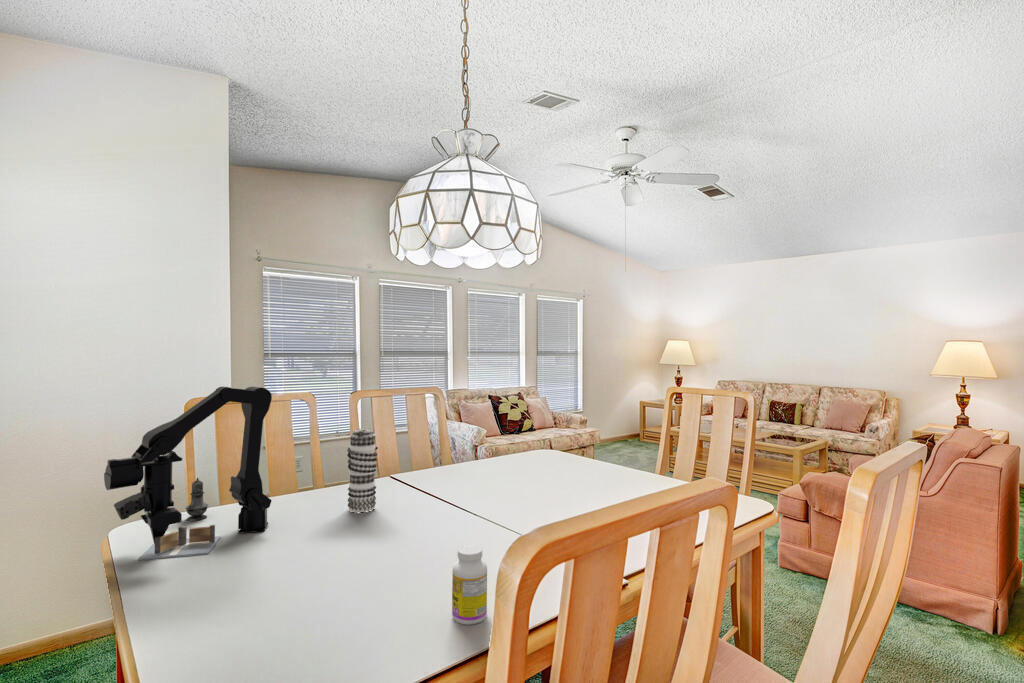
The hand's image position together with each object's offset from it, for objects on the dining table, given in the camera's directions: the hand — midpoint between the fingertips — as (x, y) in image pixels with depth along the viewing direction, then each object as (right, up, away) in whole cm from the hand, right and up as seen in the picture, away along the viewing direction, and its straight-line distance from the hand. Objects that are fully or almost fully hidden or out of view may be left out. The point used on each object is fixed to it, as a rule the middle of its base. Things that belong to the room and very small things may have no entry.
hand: (157, 544), depth 127 cm
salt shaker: (-6, -3, +26) cm, 27 cm away
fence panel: (+2, -1, 0) cm, 3 cm away
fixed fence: (+6, -2, +5) cm, 9 cm away
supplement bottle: (+79, -3, -29) cm, 85 cm away
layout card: (+4, -2, +3) cm, 6 cm away
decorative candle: (+40, -3, +36) cm, 54 cm away
